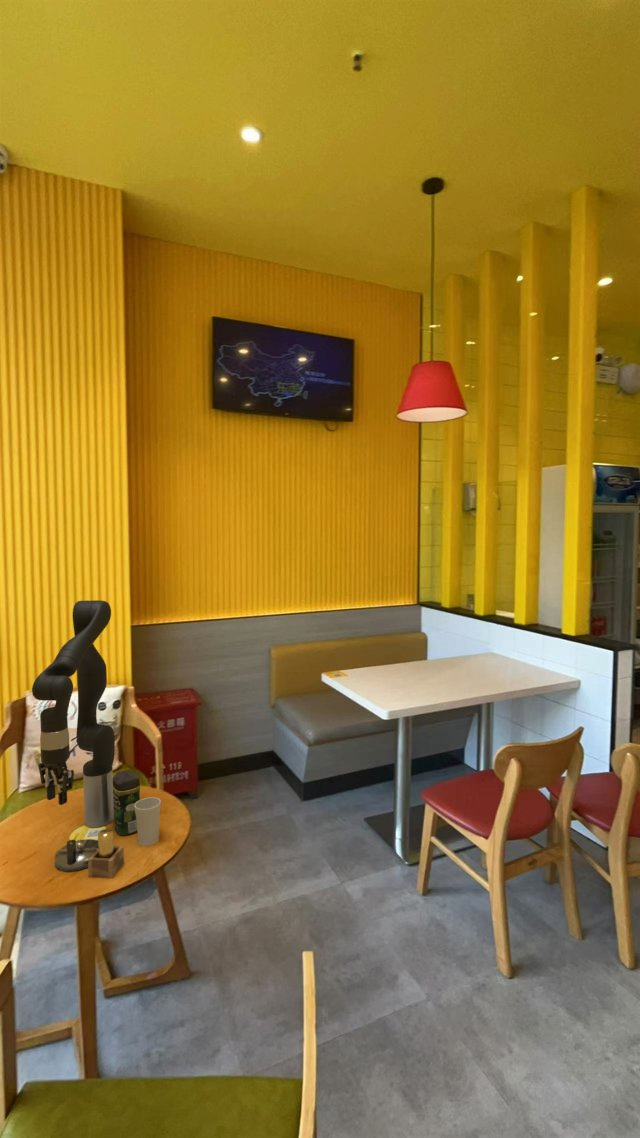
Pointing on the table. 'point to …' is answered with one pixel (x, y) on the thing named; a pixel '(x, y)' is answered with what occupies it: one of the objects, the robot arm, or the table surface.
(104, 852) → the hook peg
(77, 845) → the axle cap
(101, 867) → the block
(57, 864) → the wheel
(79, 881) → the table surface
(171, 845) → the table surface
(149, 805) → the cup
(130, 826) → the coffee jar
